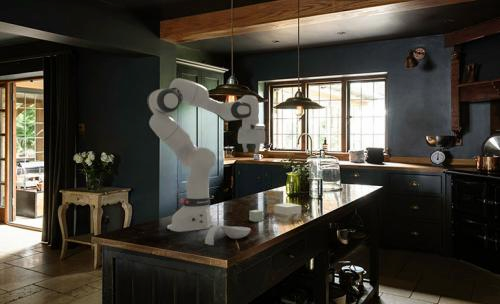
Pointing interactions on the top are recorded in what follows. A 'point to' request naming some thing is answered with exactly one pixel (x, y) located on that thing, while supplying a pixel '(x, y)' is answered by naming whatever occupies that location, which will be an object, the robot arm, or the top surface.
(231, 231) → the white curved spoon
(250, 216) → the sage cube
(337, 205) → the top surface
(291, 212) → the tower top
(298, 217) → the block
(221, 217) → the top surface
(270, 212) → the supplement box
